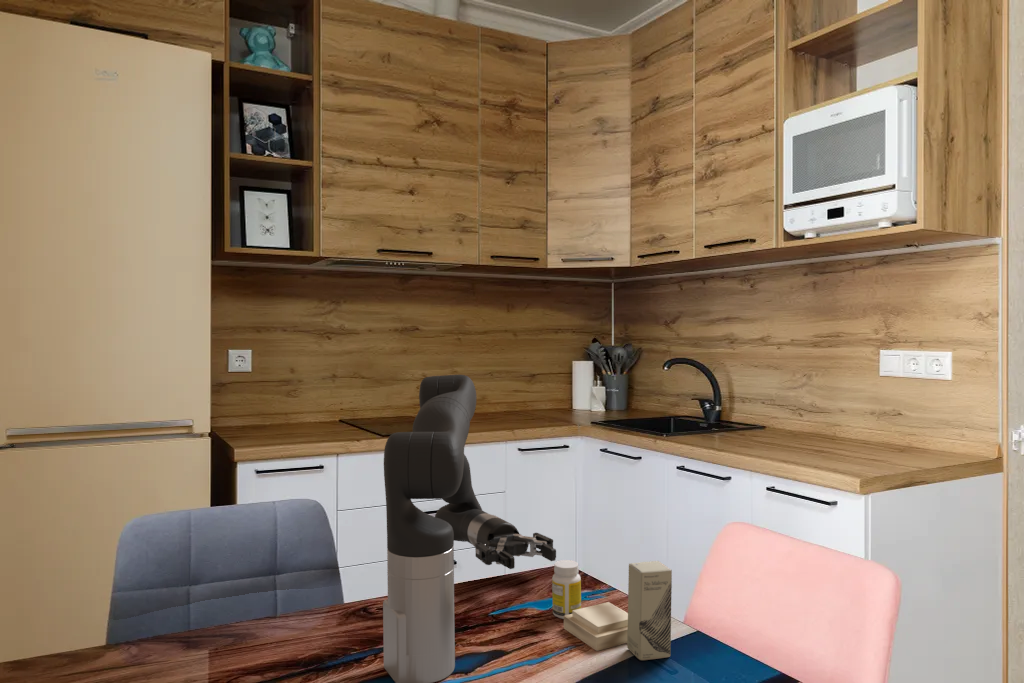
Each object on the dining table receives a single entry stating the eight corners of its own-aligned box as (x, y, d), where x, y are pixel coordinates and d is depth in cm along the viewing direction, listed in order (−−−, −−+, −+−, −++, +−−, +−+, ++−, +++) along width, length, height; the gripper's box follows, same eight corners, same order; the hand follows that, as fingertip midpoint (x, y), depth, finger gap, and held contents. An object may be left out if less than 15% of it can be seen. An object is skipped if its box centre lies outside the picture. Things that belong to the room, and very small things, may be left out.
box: (639, 662, 101) (639, 572, 101) (626, 648, 105) (626, 562, 105) (673, 657, 102) (673, 569, 102) (658, 644, 107) (658, 559, 106)
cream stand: (596, 651, 104) (596, 630, 104) (563, 628, 112) (563, 609, 112) (645, 637, 109) (645, 618, 109) (609, 616, 117) (609, 598, 117)
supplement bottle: (581, 608, 120) (581, 559, 120) (581, 620, 115) (581, 569, 115) (552, 607, 121) (552, 558, 120) (551, 619, 116) (551, 568, 116)
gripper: (460, 522, 138) (498, 544, 124) (523, 512, 145) (567, 532, 131) (460, 560, 138) (498, 587, 124) (524, 549, 145) (567, 573, 131)
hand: (533, 559), depth 127 cm, fingers open, 8 cm apart
